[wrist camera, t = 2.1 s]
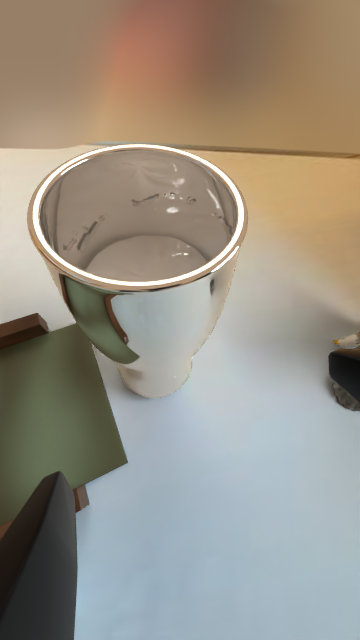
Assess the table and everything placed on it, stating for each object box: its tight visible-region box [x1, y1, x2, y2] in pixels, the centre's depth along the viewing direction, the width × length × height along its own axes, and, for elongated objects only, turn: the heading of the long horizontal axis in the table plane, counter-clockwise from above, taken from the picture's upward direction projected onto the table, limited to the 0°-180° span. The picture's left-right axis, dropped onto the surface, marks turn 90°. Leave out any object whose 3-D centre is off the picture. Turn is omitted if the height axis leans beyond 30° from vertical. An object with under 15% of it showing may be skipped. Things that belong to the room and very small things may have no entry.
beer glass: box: [27, 144, 248, 398], centre depth 14 cm, size 7×7×15 cm
